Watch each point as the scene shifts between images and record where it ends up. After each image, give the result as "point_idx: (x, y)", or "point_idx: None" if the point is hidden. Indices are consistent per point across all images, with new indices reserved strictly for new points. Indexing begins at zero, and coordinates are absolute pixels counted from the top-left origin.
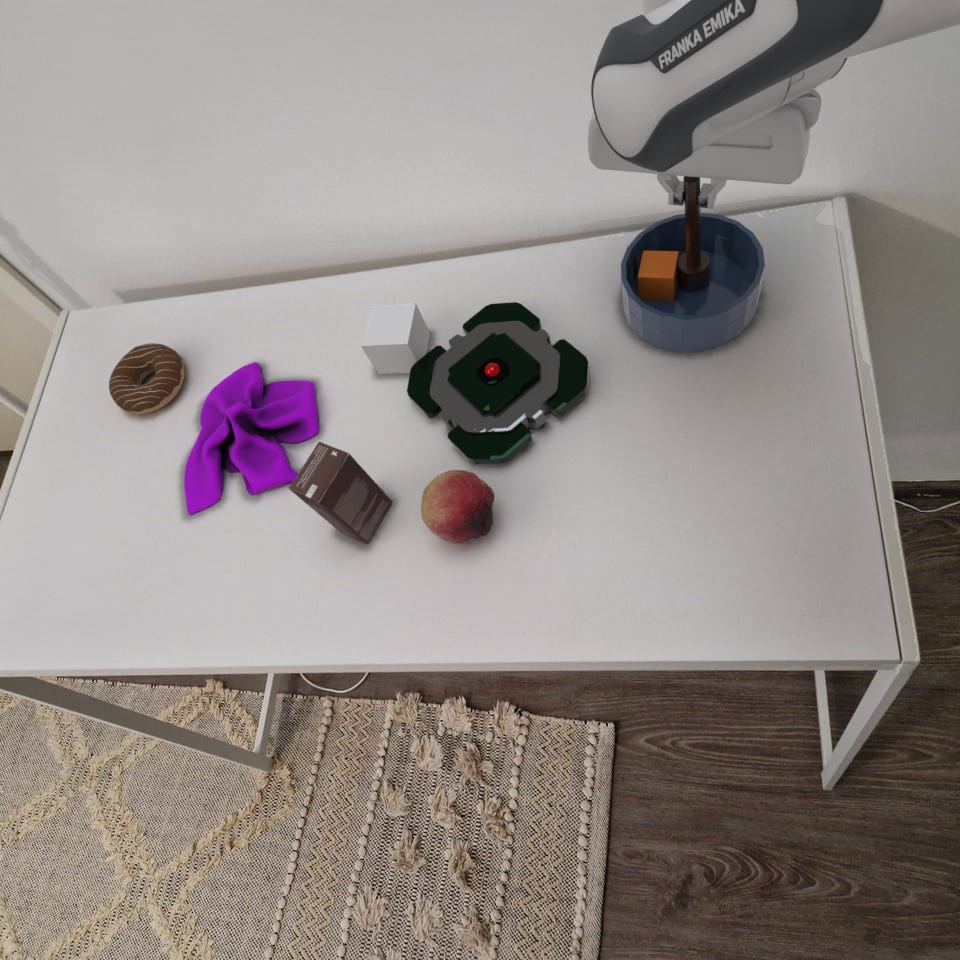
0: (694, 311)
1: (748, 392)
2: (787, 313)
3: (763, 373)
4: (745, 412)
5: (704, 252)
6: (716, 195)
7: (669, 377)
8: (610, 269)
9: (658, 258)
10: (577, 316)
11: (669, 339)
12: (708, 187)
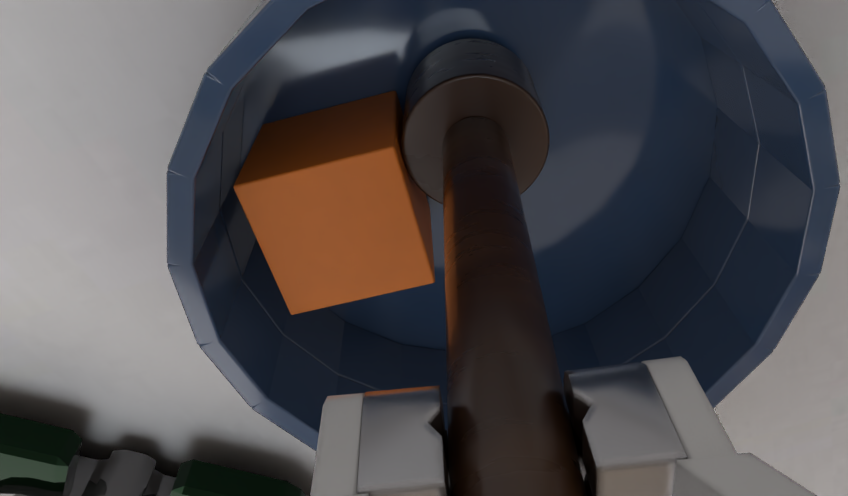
0: None
1: (736, 389)
2: (836, 114)
3: None
4: (735, 434)
5: (508, 90)
6: (688, 365)
7: None
8: (112, 119)
9: (324, 209)
10: (144, 331)
11: None
12: (660, 493)
